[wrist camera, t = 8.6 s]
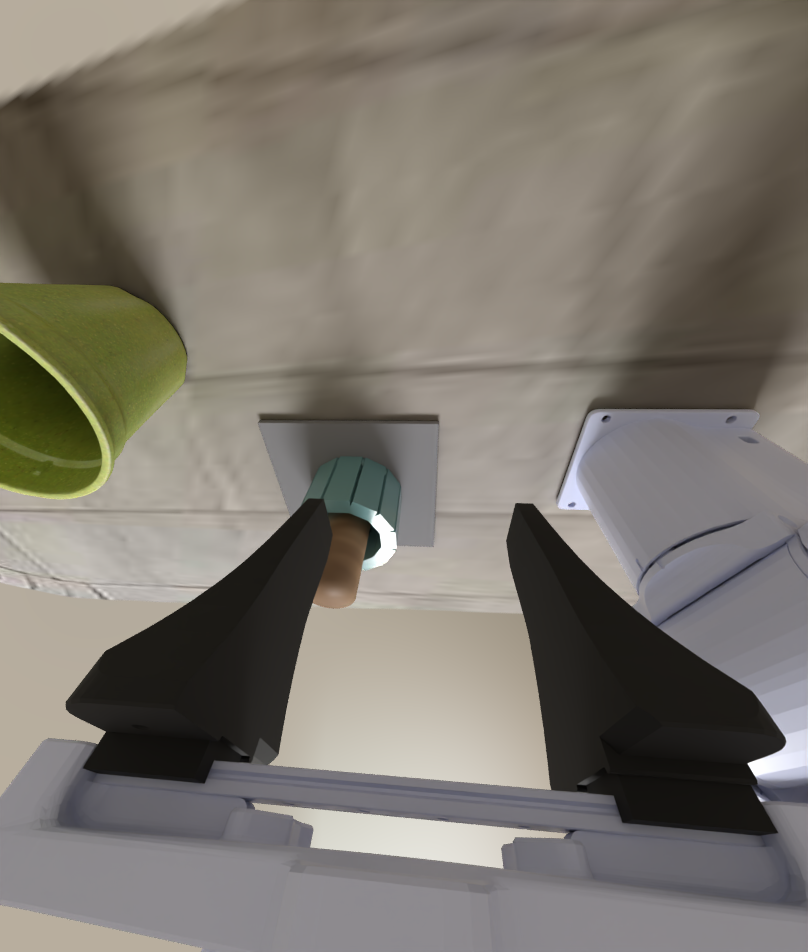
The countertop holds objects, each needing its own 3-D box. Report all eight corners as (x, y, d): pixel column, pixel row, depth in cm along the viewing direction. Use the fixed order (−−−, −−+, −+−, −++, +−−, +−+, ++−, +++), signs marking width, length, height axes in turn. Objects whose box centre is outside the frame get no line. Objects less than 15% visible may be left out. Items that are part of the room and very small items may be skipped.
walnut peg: (373, 482, 23) (351, 578, 16) (377, 512, 25) (358, 609, 18) (332, 482, 23) (295, 576, 17) (339, 512, 25) (308, 607, 18)
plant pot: (133, 214, 15) (-117, 199, 8) (249, 394, 20) (156, 477, 14) (5, 283, 17) (-274, 317, 10) (140, 429, 23) (13, 515, 16)
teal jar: (399, 457, 22) (393, 502, 18) (402, 525, 26) (398, 572, 22) (304, 455, 22) (279, 499, 19) (322, 522, 27) (305, 568, 23)
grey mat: (438, 421, 20) (438, 424, 20) (433, 543, 28) (433, 546, 28) (260, 420, 21) (257, 423, 21) (300, 538, 29) (299, 542, 28)
